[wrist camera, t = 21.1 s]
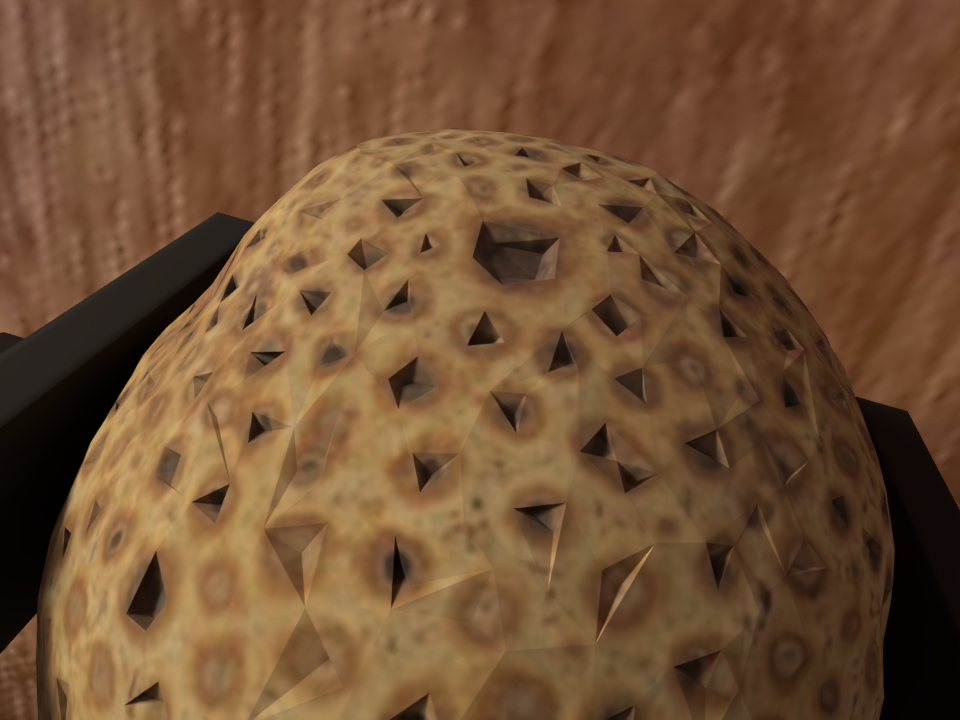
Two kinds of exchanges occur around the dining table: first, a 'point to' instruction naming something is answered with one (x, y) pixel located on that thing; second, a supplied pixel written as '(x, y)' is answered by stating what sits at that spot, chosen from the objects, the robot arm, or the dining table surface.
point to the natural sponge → (477, 467)
